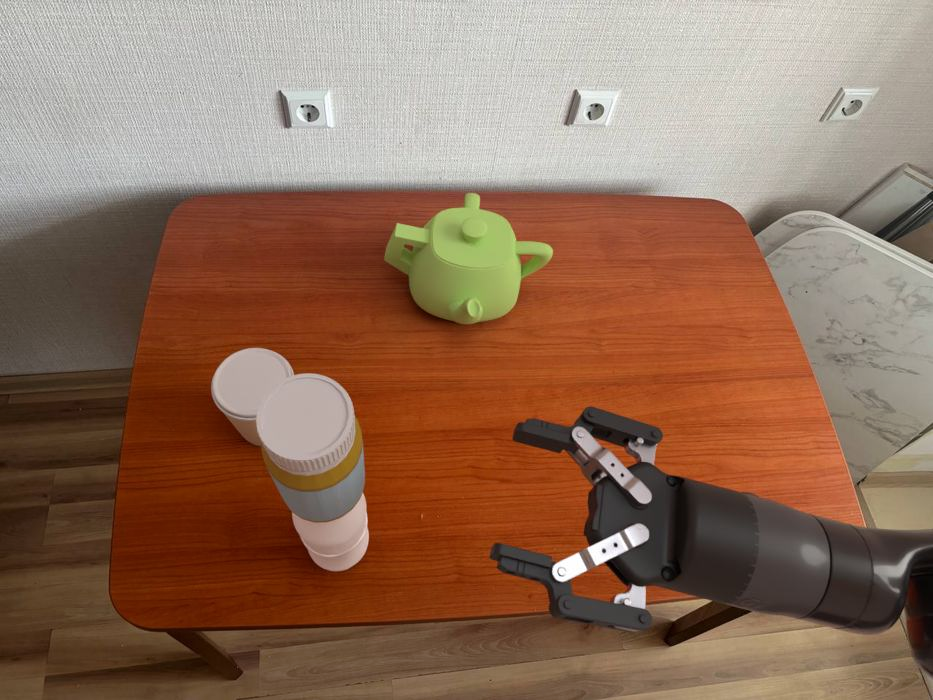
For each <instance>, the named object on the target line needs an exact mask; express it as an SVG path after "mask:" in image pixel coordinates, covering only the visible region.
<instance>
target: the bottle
mask: <svg viewBox="0 0 933 700" xmlns="http://www.w3.org/2000/svg"><path fill="white" fill-rule="evenodd" d="M353 405H354V404H353V401H352V399H351V397H350V396H349V393H348V392H347V391H346V389H345V388H344V387H343V386H342V385H341V384H340V383H339V382H337V381H336V380H334V379H333V378H330V377H328V376H326V375H322V374H319V373H298V374H294V376H290V377H288V378H285V379H283V380H282V381H280V382H278V383H277V384H275V385H274V386H273V387H272V388H271V389H270V390H269V391H268V392H267V393H266V394H265V396H264V397H263V399H262V401H261V402H260V405H259V407H258V411H257V416H256V424H257V425H256V428H257V433H258V435H259V438H260V440H261V442H262V445H261V446H260V449H261V454H262V458H263V462H264V465H265V467H266V470H267V472H268V473H269V475H270V477H271V479H272V480H273V483H274V485H275V486H276V488H277V490H278V492H279V494H280V497H281V498H282V500H283V501H284V503H285V505H286V506H287V507H288V509H289V510H290V512H291V513H292V512H293V513H294V514H296V515H297V516H298V517H300V518H302V519H304V520H307V521H310V522H315V523H321V522H330V521H333V520H336V519H339V518H341V517H343V516H344V515H346V514H347V513H348V512H350V511H351V510H352V509H353V508H354V507H355V505H356V504H357V503H358V501H359V500H360V498H361V496H362V493H363V494H364V490H365V485H366V484H365V483H366V467H365V454H364V438H363V431H362V428H361V426H360V423H359V420H358V418H357V417H356V414H355V409H354V408H355V407H354V406H353Z"/></svg>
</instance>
